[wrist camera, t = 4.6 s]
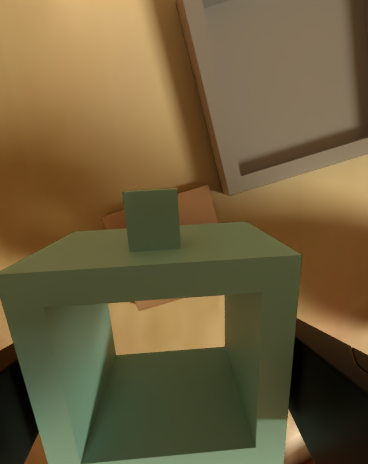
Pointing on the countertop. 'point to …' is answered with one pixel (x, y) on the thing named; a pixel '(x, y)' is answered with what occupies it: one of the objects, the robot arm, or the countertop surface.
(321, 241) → the countertop surface
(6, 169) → the countertop surface
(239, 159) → the tray
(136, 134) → the countertop surface
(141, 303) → the brown peg stand
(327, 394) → the robot arm
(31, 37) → the countertop surface
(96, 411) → the ring
